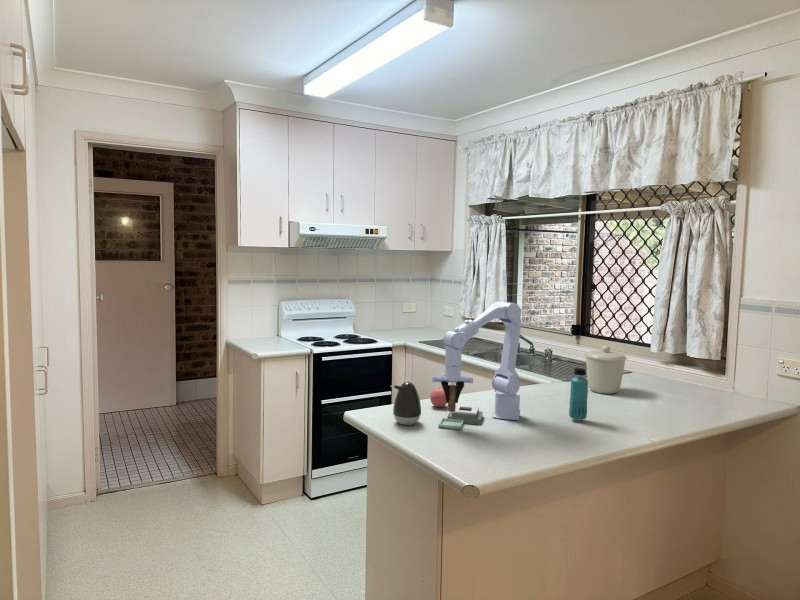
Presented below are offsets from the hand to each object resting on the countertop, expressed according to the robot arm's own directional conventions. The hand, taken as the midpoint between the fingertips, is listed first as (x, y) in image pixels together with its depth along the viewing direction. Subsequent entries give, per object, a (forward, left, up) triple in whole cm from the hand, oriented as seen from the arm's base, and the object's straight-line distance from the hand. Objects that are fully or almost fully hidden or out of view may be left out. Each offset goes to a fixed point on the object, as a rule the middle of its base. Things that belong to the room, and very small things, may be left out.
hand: (451, 402), depth 201 cm
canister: (-60, -70, -9) cm, 93 cm away
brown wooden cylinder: (0, 0, -3) cm, 3 cm away
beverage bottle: (-45, -20, -9) cm, 50 cm away
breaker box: (-4, -9, -9) cm, 13 cm away
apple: (+8, -22, -9) cm, 25 cm away
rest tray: (0, 0, -9) cm, 9 cm away
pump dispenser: (+16, +2, -9) cm, 18 cm away
